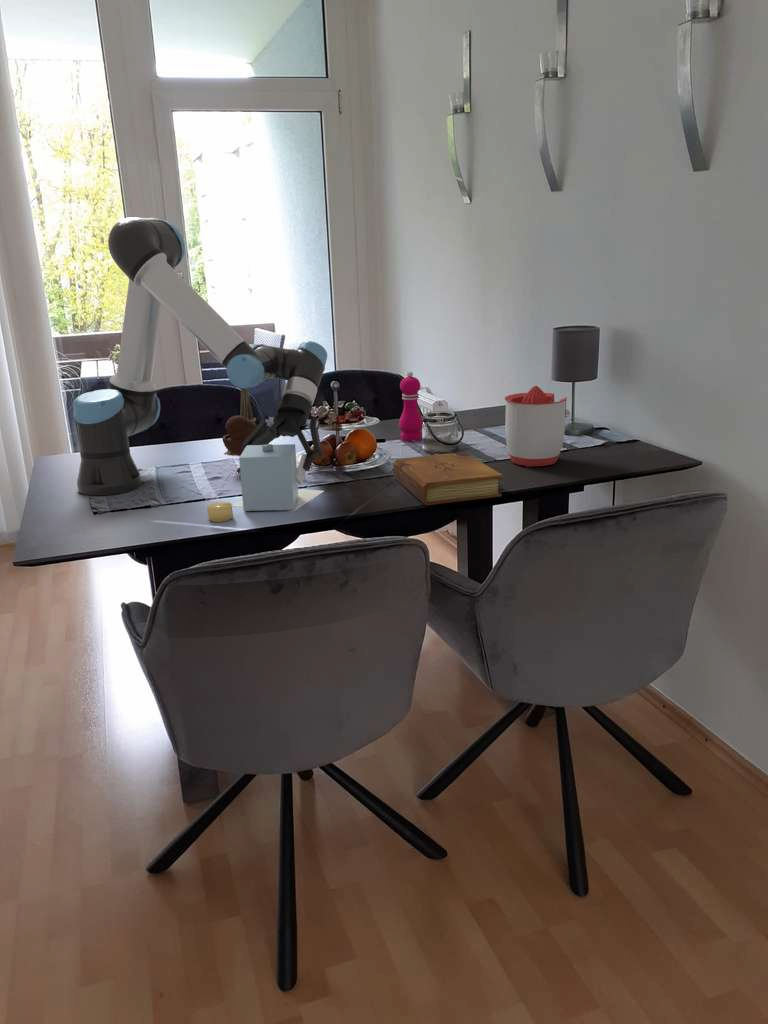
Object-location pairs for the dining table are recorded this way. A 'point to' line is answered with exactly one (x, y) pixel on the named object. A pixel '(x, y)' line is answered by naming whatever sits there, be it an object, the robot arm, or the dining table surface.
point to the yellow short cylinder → (220, 511)
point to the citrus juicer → (534, 427)
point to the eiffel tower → (245, 409)
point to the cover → (268, 477)
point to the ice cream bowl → (237, 434)
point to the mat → (302, 498)
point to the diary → (447, 478)
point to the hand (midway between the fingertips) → (271, 479)
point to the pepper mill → (410, 409)
